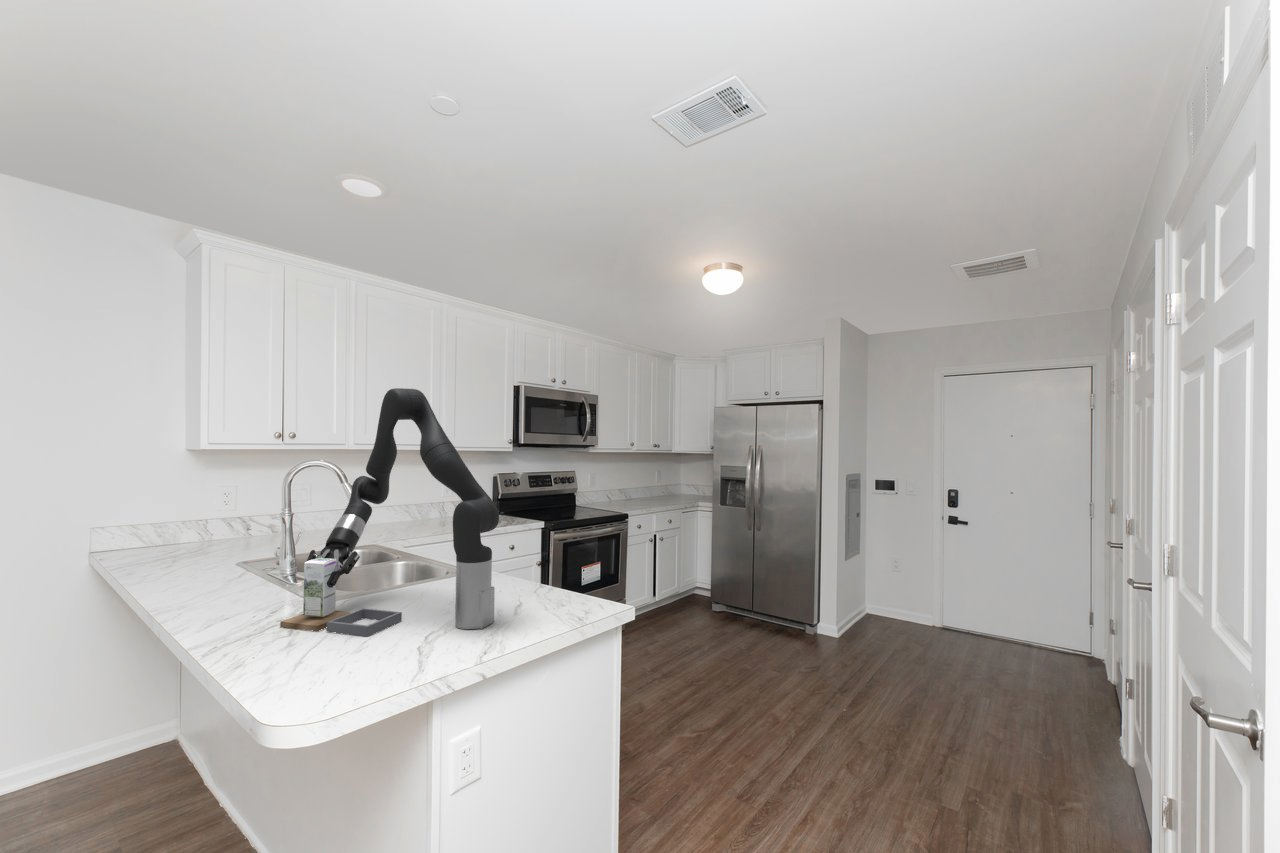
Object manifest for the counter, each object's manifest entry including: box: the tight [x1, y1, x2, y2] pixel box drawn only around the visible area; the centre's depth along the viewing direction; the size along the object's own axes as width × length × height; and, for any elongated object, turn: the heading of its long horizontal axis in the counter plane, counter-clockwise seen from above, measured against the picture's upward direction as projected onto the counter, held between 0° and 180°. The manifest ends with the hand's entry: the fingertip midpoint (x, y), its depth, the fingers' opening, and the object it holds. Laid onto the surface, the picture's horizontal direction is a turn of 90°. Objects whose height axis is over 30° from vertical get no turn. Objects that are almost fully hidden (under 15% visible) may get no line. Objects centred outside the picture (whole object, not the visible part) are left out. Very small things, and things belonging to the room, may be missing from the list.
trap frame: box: [325, 607, 403, 638], centre depth 148 cm, size 13×13×2 cm
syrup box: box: [302, 558, 337, 617], centre depth 151 cm, size 6×6×14 cm
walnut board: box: [279, 609, 353, 632], centre depth 151 cm, size 12×12×2 cm
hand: (318, 585), depth 150 cm, fingers closed on syrup box, 5 cm apart
